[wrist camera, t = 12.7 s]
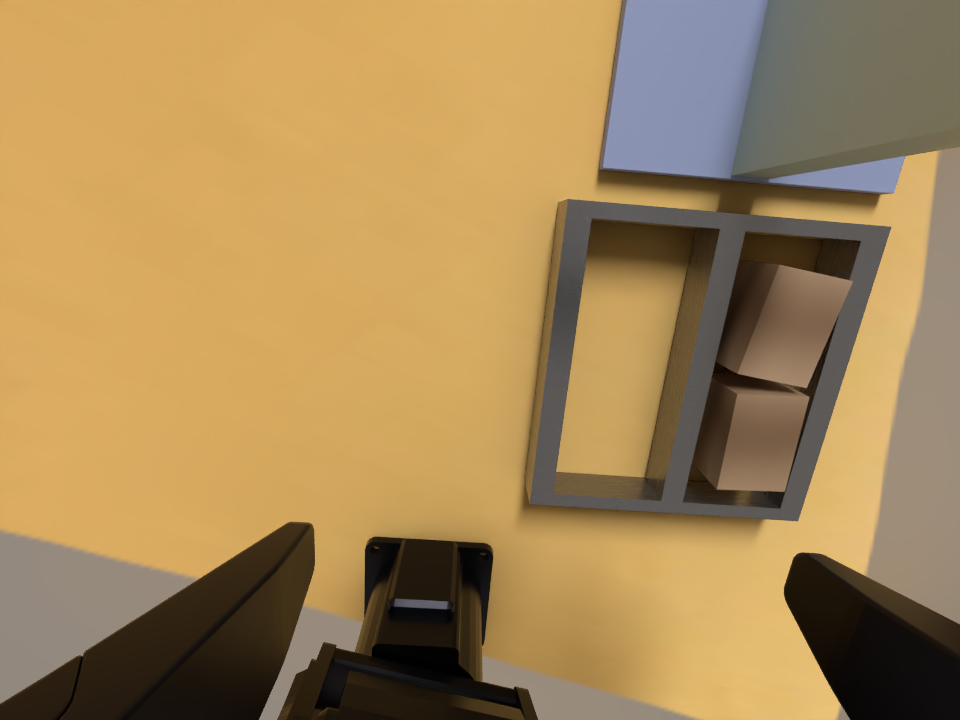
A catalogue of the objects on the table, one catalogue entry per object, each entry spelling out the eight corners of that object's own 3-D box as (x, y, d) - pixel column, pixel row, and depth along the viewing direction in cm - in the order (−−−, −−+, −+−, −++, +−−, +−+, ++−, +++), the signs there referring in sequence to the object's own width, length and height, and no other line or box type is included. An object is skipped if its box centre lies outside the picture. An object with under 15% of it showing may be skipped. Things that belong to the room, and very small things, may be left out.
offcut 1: (761, 366, 21) (806, 388, 18) (701, 354, 21) (737, 373, 18) (798, 273, 20) (853, 281, 17) (735, 259, 20) (779, 264, 17)
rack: (770, 496, 23) (797, 521, 21) (524, 480, 23) (529, 504, 21) (849, 227, 19) (891, 227, 17) (558, 202, 19) (567, 199, 17)
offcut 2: (745, 458, 23) (784, 491, 20) (685, 456, 23) (716, 489, 20) (764, 374, 21) (809, 396, 19) (701, 371, 21) (737, 393, 18)
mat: (880, 194, 19) (893, 193, 18) (598, 169, 19) (603, 167, 18) (960, -67, 17) (978, -77, 16) (637, -102, 16) (643, -114, 16)
